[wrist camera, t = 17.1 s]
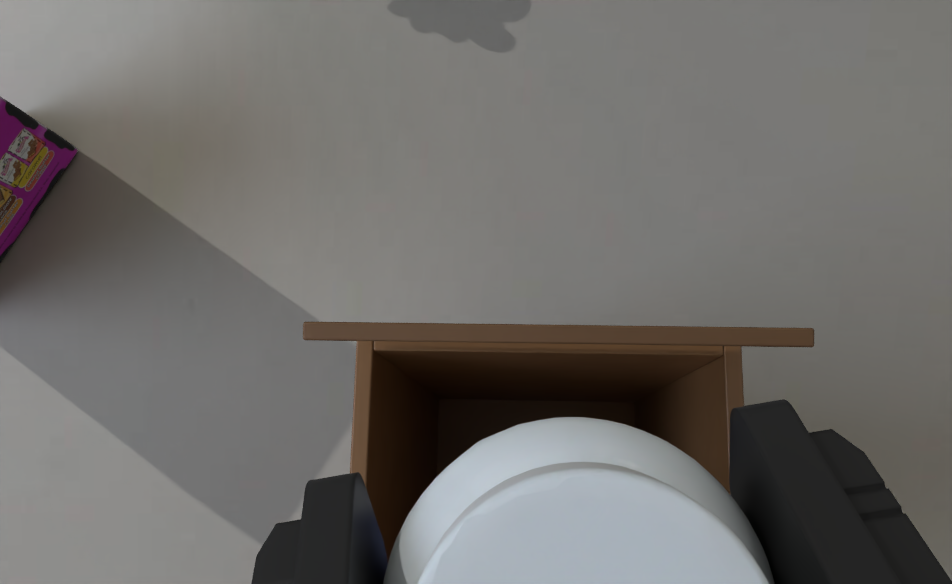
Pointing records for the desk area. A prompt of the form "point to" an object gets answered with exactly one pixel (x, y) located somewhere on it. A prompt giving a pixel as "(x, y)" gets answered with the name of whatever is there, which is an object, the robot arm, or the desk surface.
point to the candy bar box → (26, 169)
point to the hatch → (560, 334)
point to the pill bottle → (576, 514)
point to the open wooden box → (526, 404)
